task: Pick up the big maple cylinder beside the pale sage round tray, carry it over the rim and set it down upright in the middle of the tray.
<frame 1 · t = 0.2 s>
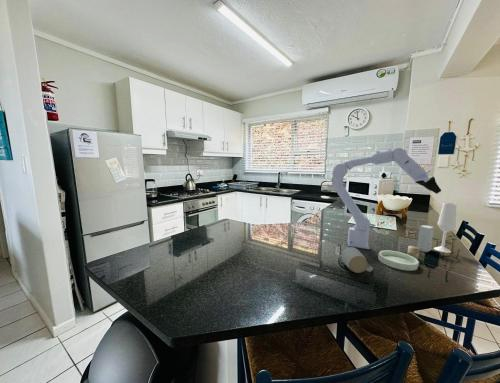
hand: (435, 190, 96), 31 cm above the counter, tool tilted 45°, fingers open, 7 cm apart
round tray: (397, 262, 92), on the counter
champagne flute: (442, 250, 108), on the counter
ceramic mug: (356, 269, 85), on the counter
skincare box: (423, 250, 108), on the counter
maple cylinder: (412, 258, 97), on the counter
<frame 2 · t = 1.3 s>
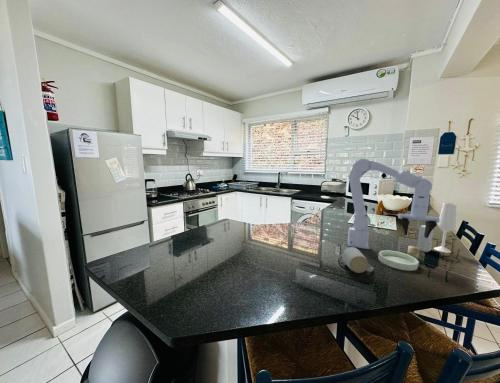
hand: (415, 235, 96), 10 cm above the counter, tool pointing down, fingers open, 7 cm apart
nothing on the counter moved.
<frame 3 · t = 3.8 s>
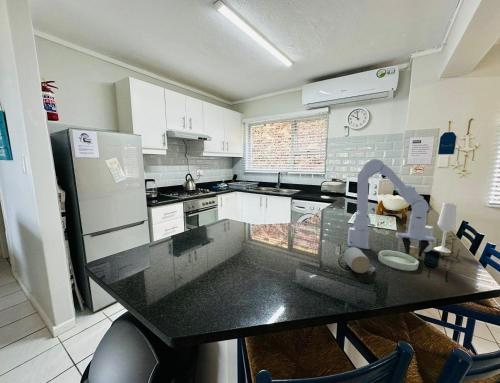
hand: (412, 255, 97), 1 cm above the counter, tool pointing down, fingers closed on maple cylinder, 4 cm apart
maple cylinder: (412, 258, 97), on the counter, touching gripper
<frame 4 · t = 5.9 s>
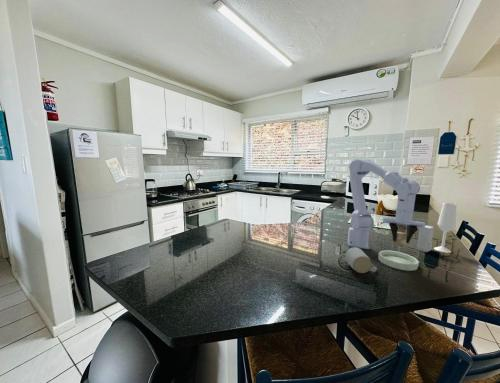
hand: (400, 241, 91), 9 cm above the counter, tool pointing down, fingers closed on maple cylinder, 4 cm apart
maple cylinder: (400, 244, 91), point 8 cm above the counter, touching gripper
when the fingers open (3 cm above the counter, at t = 7.9 s): maple cylinder drops 1 cm, resting on round tray.
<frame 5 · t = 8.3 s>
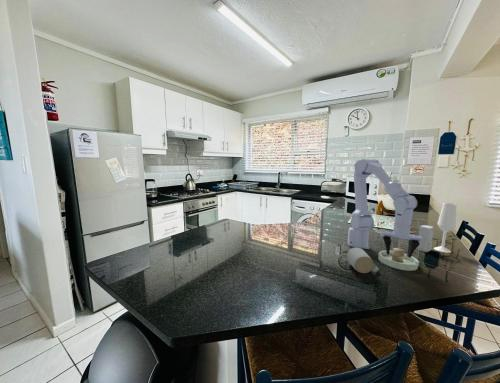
hand: (398, 255, 91), 3 cm above the counter, tool pointing down, fingers open, 7 cm apart
maple cylinder: (397, 260, 92), point 1 cm above the counter, touching round tray
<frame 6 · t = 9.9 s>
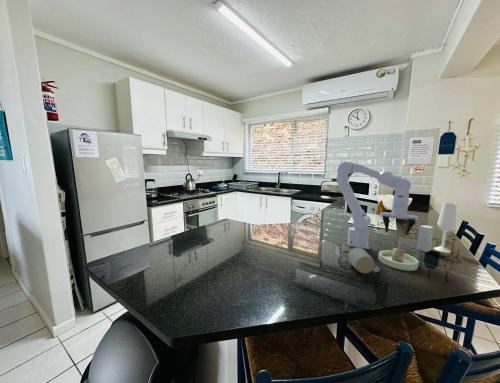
hand: (396, 233, 100), 10 cm above the counter, tool pointing down, fingers open, 7 cm apart
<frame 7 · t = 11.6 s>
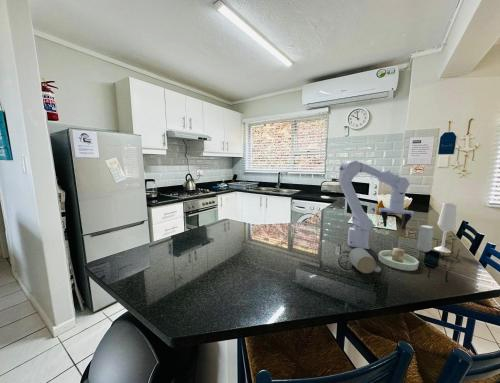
hand: (393, 227, 108), 10 cm above the counter, tool pointing down, fingers open, 7 cm apart
at the end: maple cylinder inside the target area on the round tray (0.0 cm from its centre), point 0.8 cm above the round tray's base; maple cylinder tilted 0°; the gripper is holding nothing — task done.
